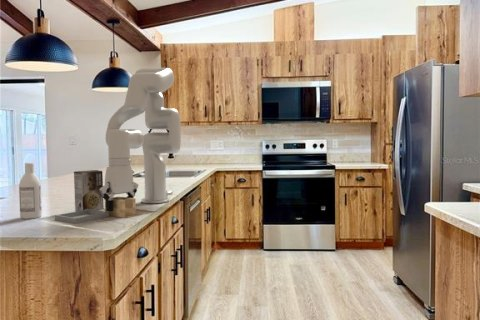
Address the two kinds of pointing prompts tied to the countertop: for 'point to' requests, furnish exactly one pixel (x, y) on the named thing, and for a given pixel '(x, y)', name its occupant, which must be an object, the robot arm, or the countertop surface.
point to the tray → (69, 217)
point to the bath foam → (30, 194)
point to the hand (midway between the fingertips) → (120, 208)
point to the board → (139, 213)
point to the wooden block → (122, 207)
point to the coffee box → (88, 190)
